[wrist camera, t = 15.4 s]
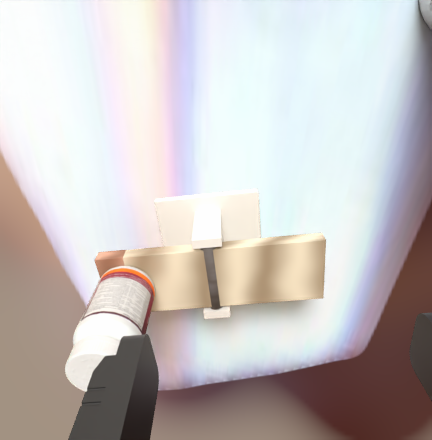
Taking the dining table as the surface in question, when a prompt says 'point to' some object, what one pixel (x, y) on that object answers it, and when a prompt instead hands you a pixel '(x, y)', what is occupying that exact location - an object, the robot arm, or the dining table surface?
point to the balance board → (228, 271)
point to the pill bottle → (109, 320)
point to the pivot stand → (209, 223)
